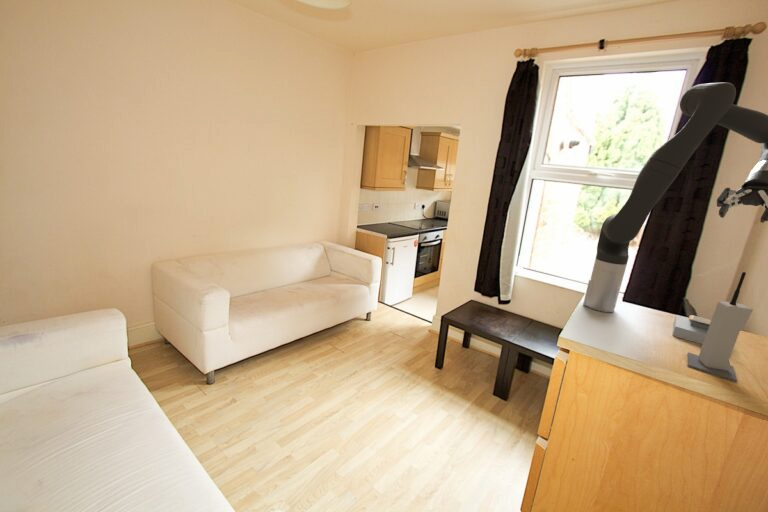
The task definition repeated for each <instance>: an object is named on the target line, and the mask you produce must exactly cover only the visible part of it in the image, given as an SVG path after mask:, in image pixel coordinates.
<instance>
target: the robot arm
mask: <svg viewBox="0 0 768 512" xmlns="http://www.w3.org/2000/svg"><path fill="white" fill-rule="evenodd" d="M736 96H737V89H736V87H735V85H734V84H732V83H731V82H709V83H701V84H700V83H699V84H696V85H694V86H691V87H690V88H689V89H687V90H686V91H685V92H684V93H683V94H682V96H681V98H680V100H679V108H680V109H679V110H680V111H681V112H682V113H683V114H684V115H685V116H687V117H690V118H689V119H688V121H687V122H686V123H685V124H684V126H683V127H682V128H681V129H680V130H679V131H678V132H677V133H676V134H675V135H673V136H672V137H671V138H670V139H668V140H666V142H664V143H663V144H662V145H660V146H659V147H658V148H657V149H656V150H654V152H652V154H651V155H650V157H649V158H648V159H647V161H646V162H645V164H644V165H643V167H642V168H641V170H640V172H639V173H638V175H637V177H636V180H635V182H634V185H633V188H632V190H631V193H630V195H629V197H628V198H627V200H626V202H625V203H624V204H623V205H622V208H621V209H620V210H619V211H618V212H617V213H615V214H611V215H609V216H608V217H606V219H604V221H603V223H602V225H601V228H600V232H599V237H598V241H597V246H596V256H595V259H594V265H593V269H592V270H591V271H592V272H591V274H590V275H591V276H590V279H589V280H588V283H587V286H586V291H585V295H584V299H583V303H582V305H583V306H586V307H587V308H590V309H592V310H595V311H598V312H605V313H613V312H614V311H615V310H616V309H615V308H616V307H617V302H618V297H619V294H620V289H621V287H622V282H623V280H624V275H625V272H626V269H627V265H628V261H629V256H630V255H629V246H630V242H631V241H633V240H634V239H635V238H636V237H637V236H638V235H639V232H640V230H641V229H642V228H643V226H644V223H645V222H646V221H647V219H648V217H649V216H650V213H651V212H652V210H653V208H654V207H656V204H657V203H658V202H659V201H660V199H662V198H663V196H664V195H665V193H666V192H667V191H668V189H669V187H670V186H671V185H672V184H673V182H674V181H675V180H676V179H677V177H678V176H679V174H680V173H681V171H682V170H683V168H684V167H685V165H686V164H687V163H688V161H689V159H691V157H692V156H693V154H694V153H695V151H696V150H697V149H698V147H700V146H701V144H702V142H703V141H704V140H705V138H707V136H708V135H709V134H710V132H711V131H712V130H713V129H714V128H715V127H716V126H717V125H718V126H721V127H724V128H725V129H728V130H730V131H732V132H734V133H737V134H738V135H741V136H743V137H745V138H746V139H748V140H750V141H751V142H754V143H756V144H760V156H759V160H758V161H757V163H756V165H755V166H754V167H753V168H752V169H751V170H750V172H749V173H748V175H747V176H746V179H744V182H743V183H742V185H741V187H740V188H739V189H737V190H736V189H735V190H733V189H731V187H726V188H724V189H723V191H722V192H721V193H720V195H719V196H718V197H717V199H716V207H718V208H719V207H720V208H719V210H718V216H719V218H722V219H723V218H725V217H726V215H727V213H728V211H729V209H730V208H733V207H739V206H742V205H743V206H754V207H758V206H761V208H762V209H763V210H764V212H763V213H762V215H761V217H760V223H762V224H764V223H766V222H768V114H766V113H765V112H761V111H758V110H756V109H755V110H754V109H752V108H748V107H744V106H740V105H736V104H734V102H735V99H736ZM728 198H729V199H728Z"/></svg>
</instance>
